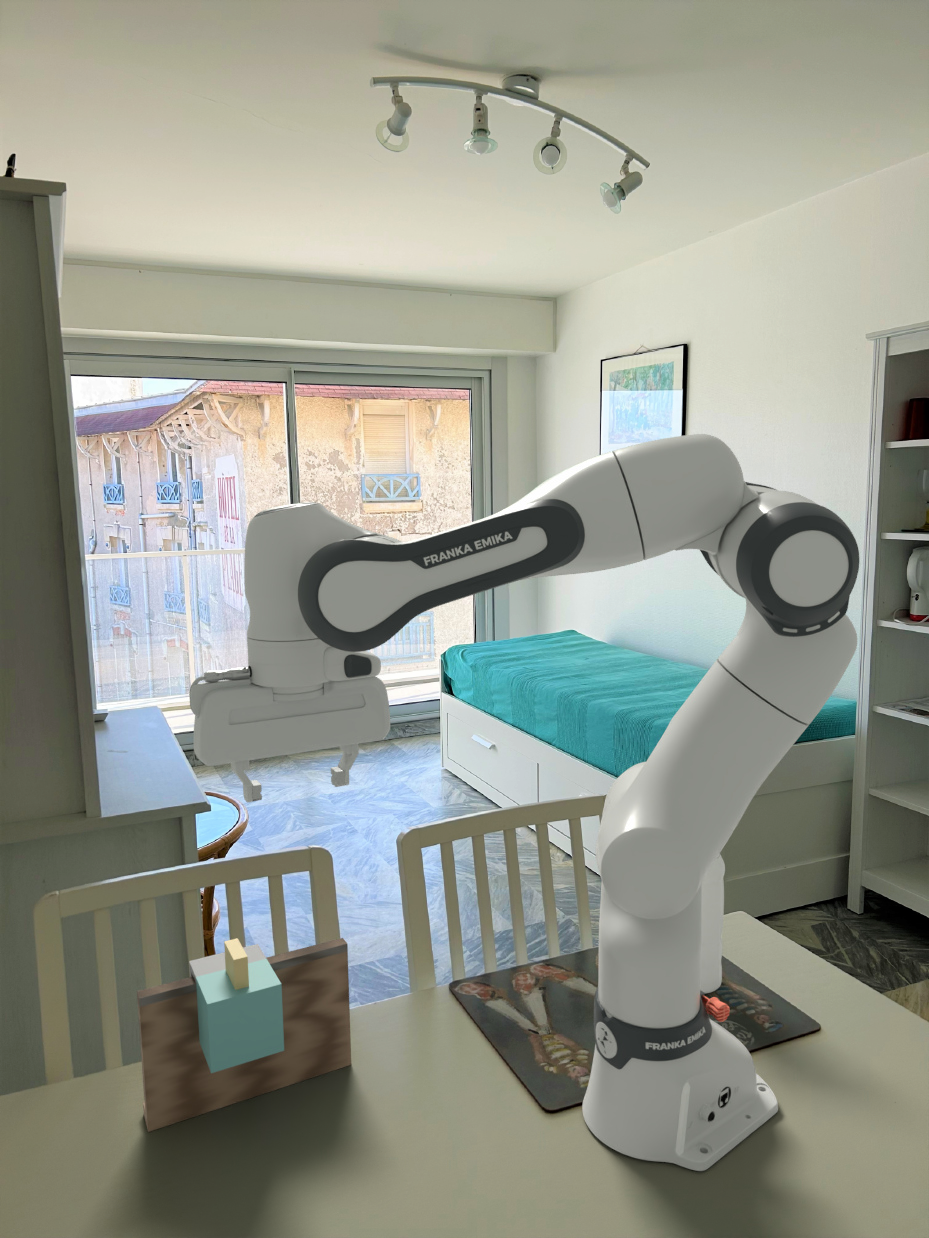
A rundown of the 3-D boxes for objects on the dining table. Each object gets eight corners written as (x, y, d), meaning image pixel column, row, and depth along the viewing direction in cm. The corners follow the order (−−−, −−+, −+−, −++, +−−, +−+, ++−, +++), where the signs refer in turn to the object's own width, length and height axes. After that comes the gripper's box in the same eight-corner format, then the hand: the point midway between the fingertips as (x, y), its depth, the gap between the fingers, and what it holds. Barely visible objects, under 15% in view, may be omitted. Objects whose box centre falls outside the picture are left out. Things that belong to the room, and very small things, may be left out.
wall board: (342, 1049, 112) (338, 931, 110) (351, 1064, 109) (347, 943, 107) (143, 1113, 101) (134, 983, 98) (148, 1131, 98) (138, 998, 95)
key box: (260, 1005, 106) (256, 916, 105) (284, 1050, 98) (280, 954, 96) (192, 1024, 103) (187, 932, 101) (211, 1073, 94) (205, 973, 92)
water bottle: (723, 998, 122) (729, 826, 119) (671, 993, 124) (675, 823, 120) (719, 971, 129) (724, 808, 125) (670, 966, 130) (673, 805, 127)
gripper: (194, 679, 83) (202, 819, 84) (394, 657, 92) (397, 784, 94) (181, 667, 88) (189, 800, 90) (372, 648, 98) (375, 769, 100)
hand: (297, 792), depth 92 cm, fingers open, 8 cm apart
